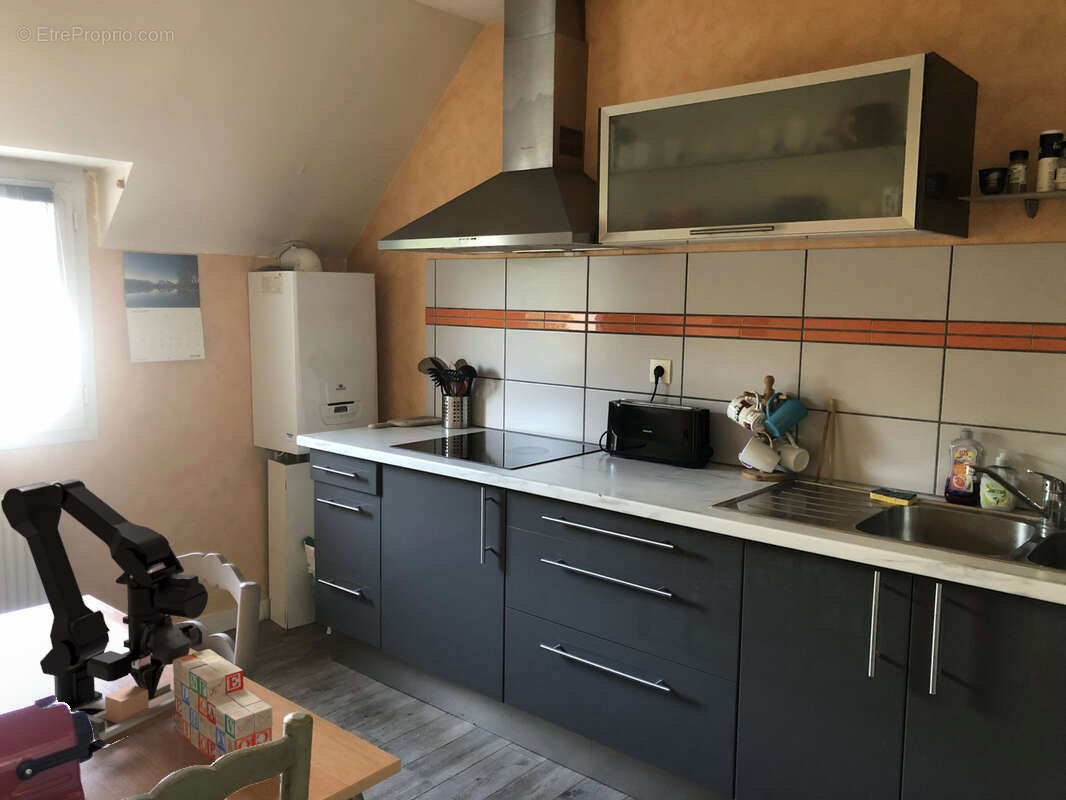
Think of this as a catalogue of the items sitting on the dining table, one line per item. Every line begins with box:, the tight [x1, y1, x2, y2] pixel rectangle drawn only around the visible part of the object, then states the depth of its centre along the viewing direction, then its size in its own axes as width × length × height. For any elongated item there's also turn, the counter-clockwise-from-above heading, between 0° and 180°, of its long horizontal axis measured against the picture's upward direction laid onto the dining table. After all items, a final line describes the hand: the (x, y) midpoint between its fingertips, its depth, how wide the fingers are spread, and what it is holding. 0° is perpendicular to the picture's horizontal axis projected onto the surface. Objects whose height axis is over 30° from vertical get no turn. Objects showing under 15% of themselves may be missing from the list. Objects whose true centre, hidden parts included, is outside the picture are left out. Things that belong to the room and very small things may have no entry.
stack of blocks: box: [172, 648, 273, 762], centre depth 134 cm, size 21×6×12 cm, turn 45°
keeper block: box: [104, 684, 149, 724], centre depth 140 cm, size 4×5×4 cm
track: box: [85, 682, 176, 744], centre depth 142 cm, size 7×17×4 cm, turn 152°
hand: (149, 699), depth 144 cm, fingers closed
